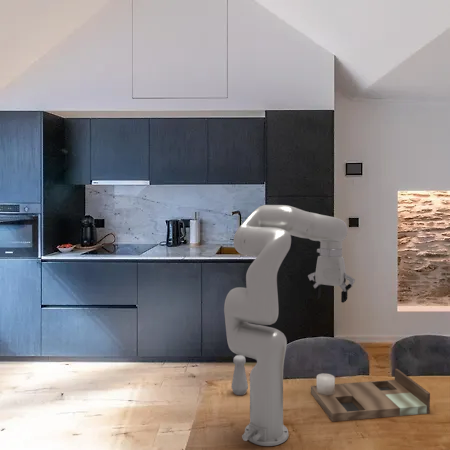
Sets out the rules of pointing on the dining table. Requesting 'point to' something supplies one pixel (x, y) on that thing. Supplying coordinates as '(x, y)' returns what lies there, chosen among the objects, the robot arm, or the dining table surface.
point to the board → (375, 399)
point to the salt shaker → (239, 376)
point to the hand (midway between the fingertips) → (330, 300)
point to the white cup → (325, 384)
